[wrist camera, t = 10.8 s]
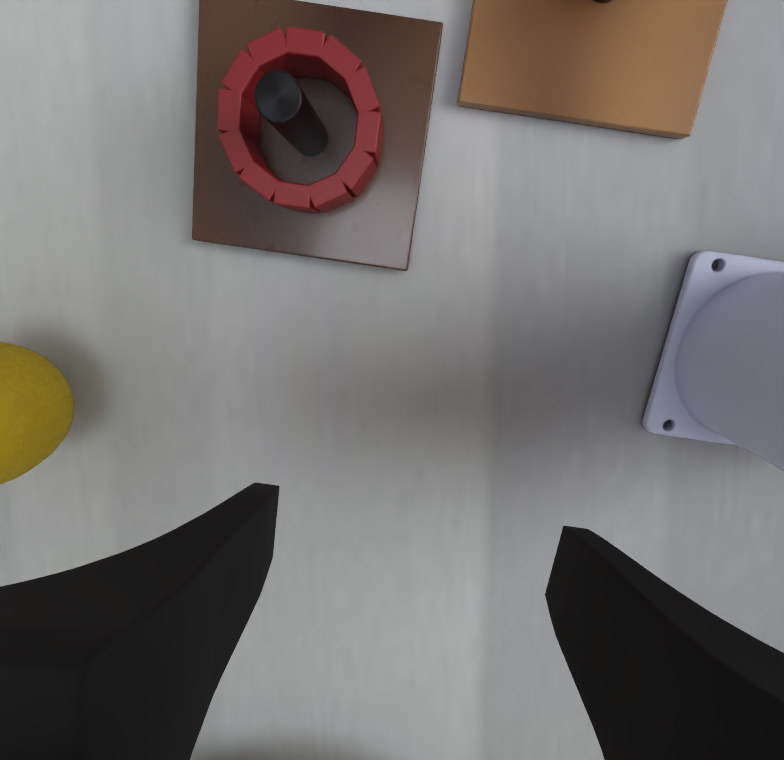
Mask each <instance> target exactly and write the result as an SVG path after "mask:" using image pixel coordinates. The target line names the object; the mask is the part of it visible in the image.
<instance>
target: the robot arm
mask: <svg viewBox="0 0 784 760" xmlns="http://www.w3.org/2000/svg"><path fill="white" fill-rule="evenodd" d="M716 259H717V261H718V262H719V265H718V267H717V269H716V270H714V271H713V269H712V263H713V261H714V260H716ZM667 420H670V424H669V426H667V427H666V428H663V424H664V422H665V421H667ZM643 426H644V428H645V429H646V430H647V431H649V432H650V433H653V434H659V435H666V436H673V437H680V438H687V439H694V440H701V441H708V442H715V443H722V444H729V445H736V446H741V447H742V448H744V449H746V450H748V451H749V452H751V453H753V454H755V455H756V456H758V457H760V458H762V459H763V460H765V461H767V462H769V463H770V464H772V465H774V466H776V467H777V468H779V469H781V470H783V471H784V262H782V261H776V260H769V259H762V258H755V257H748V256H741V255H735V254H728V253H721V252H714V251H699V252H697V253H695V254H694V255H693V256H692V257H691V259H690V261H689V264H688V267H687V270H686V274H685V277H684V281H683V284H682V288H681V291H680V294H679V298H678V301H677V305H676V308H675V311H674V315H673V318H672V322H671V325H670V329H669V332H668V335H667V339H666V342H665V346H664V349H663V353H662V356H661V359H660V363H659V366H658V370H657V373H656V377H655V380H654V383H653V387H652V390H651V394H650V397H649V401H648V404H647V407H646V411H645V414H644V418H643ZM278 496H279V486H276V485H269V484H262V483H253V484H252V485H250V486H248V487H247V488H245V489H243V490H242V491H240V492H239V493H237V494H235V495H234V496H232V497H231V498H229V499H227V500H226V501H224V502H222V503H221V504H219V505H217V506H216V507H214V508H212V509H211V510H209V511H207V512H206V513H204V514H202V515H200V516H199V517H197V518H195V519H193V520H191V521H189V522H187V523H185V524H184V525H182V526H180V527H178V528H176V529H174V530H172V531H170V532H168V533H166V534H164V535H162V536H160V537H158V538H156V539H153V540H151V541H149V542H146V543H144V544H142V545H139V546H137V547H134V548H132V549H130V550H127V551H124V552H122V553H119V554H116V555H113V556H110V557H107V558H104V559H101V560H98V561H95V562H92V563H89V564H86V565H83V566H80V567H77V568H74V569H71V570H67V571H63V572H60V573H56V574H52V575H49V576H45V577H41V578H37V579H33V580H28V581H24V582H20V583H16V584H11V585H6V586H2V587H0V760H190V757H191V754H192V751H193V749H194V746H195V743H196V740H197V738H198V735H199V732H200V729H201V727H202V724H203V721H204V719H205V716H206V713H207V710H208V708H209V705H210V702H211V700H212V697H213V695H214V692H215V690H216V688H217V685H218V683H219V681H220V678H221V676H222V674H223V672H224V670H225V668H226V666H227V664H228V662H229V660H230V657H231V655H232V653H233V651H234V649H235V647H236V645H237V643H238V641H239V639H240V637H241V634H242V632H243V630H244V628H245V626H246V624H247V622H248V620H249V618H250V616H251V613H252V611H253V609H254V607H255V605H256V603H257V601H258V598H259V596H260V594H261V591H262V588H263V585H264V582H265V580H266V577H267V573H268V570H269V567H270V564H271V561H272V558H273V549H274V538H275V528H276V517H277V507H278ZM545 596H546V600H547V604H548V609H549V613H550V617H551V620H552V624H553V628H554V631H555V634H556V637H557V640H558V642H559V645H560V647H561V650H562V652H563V655H564V657H565V660H566V662H567V665H568V667H569V669H570V672H571V674H572V677H573V679H574V682H575V684H576V686H577V689H578V691H579V694H580V696H581V699H582V701H583V703H584V706H585V708H586V711H587V713H588V715H589V718H590V720H591V723H592V725H593V728H594V730H595V733H596V736H597V739H598V741H599V744H600V747H601V749H602V753H603V756H604V759H605V760H784V653H783V652H781V651H779V650H777V649H775V648H773V647H771V646H769V645H767V644H765V643H763V642H762V641H760V640H758V639H756V638H754V637H752V636H751V635H749V634H747V633H745V632H744V631H742V630H740V629H738V628H737V627H735V626H733V625H731V624H730V623H728V622H726V621H724V620H723V619H721V618H719V617H718V616H716V615H714V614H713V613H711V612H709V611H708V610H706V609H705V608H703V607H701V606H700V605H698V604H697V603H695V602H694V601H692V600H691V599H689V598H688V597H686V596H685V595H683V594H682V593H680V592H679V591H677V590H676V589H674V588H673V587H671V586H670V585H668V584H667V583H665V582H664V581H662V580H661V579H660V578H658V577H657V576H655V575H654V574H652V573H651V572H650V571H648V570H647V569H645V568H644V567H643V566H641V565H640V564H638V563H637V562H636V561H634V560H633V559H632V558H630V557H629V556H627V555H626V554H625V553H623V552H622V551H620V550H619V549H618V548H616V547H615V546H613V545H612V544H610V543H609V542H608V541H606V540H605V539H603V538H602V537H600V536H599V535H597V534H595V533H594V532H592V531H590V530H588V529H584V528H577V527H569V526H563V530H562V533H561V537H560V541H559V545H558V548H557V552H556V556H555V560H554V563H553V567H552V571H551V574H550V578H549V582H548V586H547V589H546V593H545Z"/></svg>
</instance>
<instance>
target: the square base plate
mask: <svg viewBox="0 0 784 760" xmlns="http://www.w3.org/2000/svg"><path fill="white" fill-rule="evenodd" d="M287 27H296V28H303V29H309V30H316V31H323V32H324V33H325V34H326V37H327V39H328V37H329V36H330V35H333V36H334V37H335V38H336V39H337V40H338V41H339V42H341V43H342V44H343V45H344V46H345V47H346V48H347V49H349V50H350V51H351V52H352V53H353V54H354V55H356V56H357V57H358V58H359V59H360V60H361V61H362V65H363V67H366V69H367V71H368V74H369V77H370V80H371V82H372V85H373V88H374V90H375V93H376V96H377V98H378V101H379V104H380V109H381V115H382V121H383V123H382V124H383V137H382V145H381V153H380V161H379V164H375V165H376V168H377V170H376V172H375V173H374V174H373V176H372V177H371V179H370V180H369V182H368V183H367V184H366V186H365V187H364V189H363V190H362V191H361V193H360V194H359V196H355V195H354V194H353V193H351V194H352V197H353V200H352V201H350V202H348V203H346V204H344V205H341V206H339V207H337V208H334V209H332V210H330V211H328V212H322V211H320V212H319V213H311V212H304V211H297V210H291V209H287V208H284V207H282V206H279V205H277V204H275V203H272V202H270V201H267V200H266V199H265V198H264V197H262V196H261V195H260V194H259V193H257V192H256V191H255V190H254V189H252V188H251V187H250V186H248V185H247V184H246V183H245V182H243V181H242V180H241V179H240V178H239V176H240V175H239V174H237V173H235V172H234V170H233V168H232V165H231V163H230V161H229V159H228V156H227V154H226V152H225V150H224V148H223V145H222V143H221V141H220V139H219V135H220V134H223V133H222V132H220V131H219V130H217V119H218V95H219V88H222V89H227V88H226V87H225V86H224V85H223V84H222V80H223V78H224V77H225V75H226V73H227V72H228V70H229V68H230V67H231V65H232V63H233V62H234V60H235V58H236V57H237V55H238V53H239V52H240V50H241V49H243V50H245V51H246V52H247V53H249V51H248V49H247V43H249V42H251V41H253V40H255V39H257V38H259V37H261V36H263V35H265V34H267V33H269V32H271V31H273V30H275V29H277V28H281V29H282V30H283V32H284V34H285V36H286V28H287ZM442 28H443V23H441V22H435V21H428V20H422V19H415V18H409V17H402V16H395V15H389V14H382V13H376V12H369V11H362V10H356V9H349V8H343V7H336V6H329V5H323V4H316V3H309V2H303V1H296V0H200V1H199V33H198V66H197V98H196V131H195V163H194V195H193V228H192V239H193V240H197V241H204V242H211V243H218V244H224V245H231V246H238V247H245V248H252V249H259V250H266V251H273V252H280V253H287V254H294V255H300V256H307V257H314V258H321V259H328V260H335V261H342V262H349V263H356V264H363V265H370V266H376V267H383V268H390V269H397V270H404V271H406V270H407V269H408V262H409V255H410V249H411V242H412V235H413V228H414V221H415V214H416V207H417V200H418V193H419V186H420V180H421V173H422V166H423V159H424V152H425V145H426V138H427V131H428V124H429V117H430V110H431V104H432V97H433V90H434V83H435V76H436V69H437V62H438V55H439V48H440V41H441V35H442ZM249 54H250V53H249ZM254 98H255V104H256V107H257V109H258V111H259V112H260V116H259V133H258V145H259V147H260V149H261V152H262V154H263V156H264V159H265V161H266V163H267V166H268V168H269V170H270V171H271V172H272V173H273V174H274V175H276V176H277V177H278V178H279V179H281V180H282V181H285V182H292V183H299V184H305V185H309V184H312V183H314V182H316V181H318V180H321V179H323V178H325V177H327V176H330V175H332V174H334V173H336V172H337V170H338V169H339V167H340V166H341V164H342V163H343V161H344V160H345V159H346V157H347V156H348V154H349V153H350V151H351V150H352V148H353V147H354V141H355V132H356V123H357V112H356V110H355V107H354V104H353V102H352V99H350V98H349V97H348V96H347V95H346V94H344V93H343V92H342V91H341V90H340V89H339V88H337V87H336V86H335V85H334V84H333V83H332V82H330V81H329V80H326V79H319V78H312V77H306V76H299V77H297V78H294V77H293V76H291V75H290V74H288V73H287V72H284V71H280V70H274V71H270V72H268V73H266V74H264V75H263V76H262V77H261V78H260V80H259V81H258V83H257V85H256V88H255V94H254Z"/></svg>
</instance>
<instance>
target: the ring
mask: <svg viewBox="0 0 784 760" xmlns="http://www.w3.org/2000/svg"><path fill="white" fill-rule="evenodd" d="M247 49H248V51H249V53H250V54H249V53H247V52H246V51H245V50H243V49H241V50H240V52H239V53H238V55H237V57H236V58H235V60H234V62H233V63H232V65H231V67H230V68H229V70H228V72H227V73H226V75H225V77H224V78H223V80H222V84H223V85H224V86H225V87H226V88H227V89H222V88H219V95H218V119H217V130H219V131H220V132H222V133H223V134H220V135H219V139H220V141H221V143H222V145H223V148H224V150H225V152H226V154H227V156H228V159H229V161H230V163H231V165H232V168H233V170H234V172H235V173H237V174H239V175H240V176H239V178H240V179H241V180H242V181H243V182H245V183H246V184H247V185H248V186H250V187H251V188H252V189H254V190H255V191H256V192H257V193H259V194H260V195H261V196H262V197H264V198H265V199H266V200H267V201H270V202H272V203H275V204H277V205H279V206H282V207H284V208H287V209H291V210H297V211H304V212H311V213H319V212H320V211H322V212H328V211H330V210H332V209H334V208H337V207H339V206H341V205H344V204H346V203H348V202H350V201H352V200H353V197H352V194H351V193H353V194H354V195H355V196H359V194H360V193H361V191H362V190H363V189H364V187H365V186H366V184H367V183H368V182H369V180H370V179H371V177H372V176H373V174H374V173H375V172H376V170H377V168H376V165H375V164H379V161H380V153H381V145H382V137H383V124H382V123H383V121H382V115H381V109H380V104H379V101H378V98H377V96H376V93H375V90H374V88H373V85H372V82H371V80H370V77H369V74H368V71H367V69H366V67H363V65H362V61H361V60H360V59H359V58H358V57H357V56H356V55H354V54H353V53H352V52H351V51H350V50H349V49H347V48H346V47H345V46H344V45H343V44H342V43H341V42H339V41H338V40H337V39H336V38H335V37H334V36H333V35H330V36H329V37H328V39H327V37H326V34H325V33H324V32H323V31H316V30H309V29H303V28H296V27H287V28H286V36H285V34H284V32H283V30H282V29H281V28H277V29H275V30H273V31H271V32H269V33H267V34H265V35H263V36H261V37H259V38H257V39H255V40H253V41H251V42H249V43H247ZM274 70H280V71H284V72H287V73H288V74H290V75H291V76H293V77H294V78H297V77H299V76H306V77H312V78H319V79H326V80H329V81H330V82H332V83H333V84H334V85H335V86H336V87H337V88H339V89H340V90H341V91H342V92H343V93H344V94H346V95H347V96H348V97H349V98H350V99H352V102H353V104H354V107H355V110H356V112H357V123H356V132H355V141H354V147H353V148H352V150H351V151H350V153H349V154H348V156H347V157H346V159H345V160H344V161H343V163H342V164H341V166H340V167H339V169H338V170H337V172H336V173H334V174H332V175H330V176H327V177H325V178H323V179H321V180H318V181H316V182H314V183H312V184H309V185H305V184H299V183H292V182H285V181H282V180H281V179H279V178H278V177H277V176H276V175H274V174H273V173H272V172H271V171H270V170H269V168H268V166H267V163H266V161H265V159H264V156H263V154H262V152H261V149H260V147H259V145H258V133H259V116H260V112H259V111H258V109H257V107H256V104H255V98H254V94H255V88H256V85H257V83H258V81H259V80H260V78H261V77H262V76H263V75H264V74H266V73H268V72H270V71H274Z"/></svg>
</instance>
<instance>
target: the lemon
mask: <svg viewBox="0 0 784 760" xmlns="http://www.w3.org/2000/svg"><path fill="white" fill-rule="evenodd" d="M73 408H74V402H73V397H72V392H71V389H70V387H69V385H68V382H67V380H66V378H65V377H64V376H63V375H62V373H61V372H60V371H59V369H58V368H57V367H55V366H54V365H53V364H52V363H51V362H50V361H48V360H47V359H46V358H44V357H43V356H41V355H39V354H37V353H35V352H33V351H31V350H29V349H27V348H23V347H20V346H16V345H13V344H9V343H3V342H0V484H2V483H5V482H8V481H10V480H13V479H15V478H17V477H19V476H21V475H23V474H24V473H26V472H28V471H29V470H31V469H32V468H33V467H35V466H36V465H38V464H39V463H40V462H42V461H43V460H45V459H46V458H47V457H48V456H49V455H50V454H52V453H53V451H54V450H55V449H56V448H57V447H58V445H59V444H60V443H61V441H62V440H63V439H64V437H65V436H66V434H67V432H68V430H69V427H70V424H71V421H72V418H73Z"/></svg>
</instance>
